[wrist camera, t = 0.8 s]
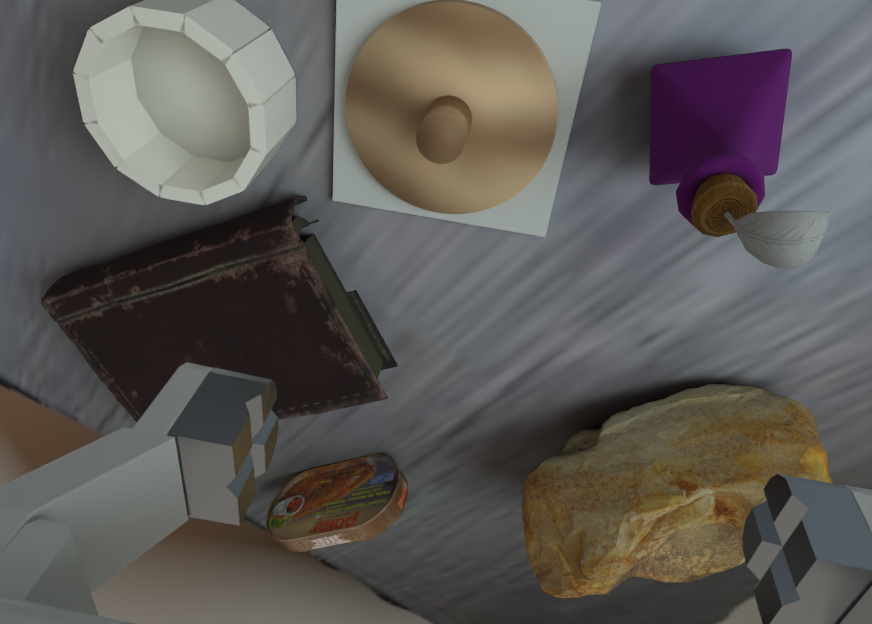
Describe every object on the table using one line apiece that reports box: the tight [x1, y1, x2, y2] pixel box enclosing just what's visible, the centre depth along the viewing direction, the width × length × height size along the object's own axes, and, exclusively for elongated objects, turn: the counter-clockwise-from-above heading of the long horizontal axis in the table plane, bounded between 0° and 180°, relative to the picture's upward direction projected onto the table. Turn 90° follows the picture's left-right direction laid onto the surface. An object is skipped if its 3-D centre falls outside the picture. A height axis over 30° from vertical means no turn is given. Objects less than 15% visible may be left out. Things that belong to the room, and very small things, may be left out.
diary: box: [41, 196, 398, 422], centre depth 57 cm, size 19×25×5 cm
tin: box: [266, 454, 408, 552], centre depth 65 cm, size 15×3×8 cm, turn 115°
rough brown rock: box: [522, 384, 833, 598], centre depth 55 cm, size 23×17×15 cm
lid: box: [345, 0, 558, 214], centre depth 42 cm, size 14×14×5 cm
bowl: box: [73, 0, 296, 205], centre depth 44 cm, size 12×12×6 cm
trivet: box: [333, 0, 601, 237], centre depth 45 cm, size 16×16×1 cm
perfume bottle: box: [649, 49, 829, 269], centre depth 35 cm, size 8×8×18 cm
